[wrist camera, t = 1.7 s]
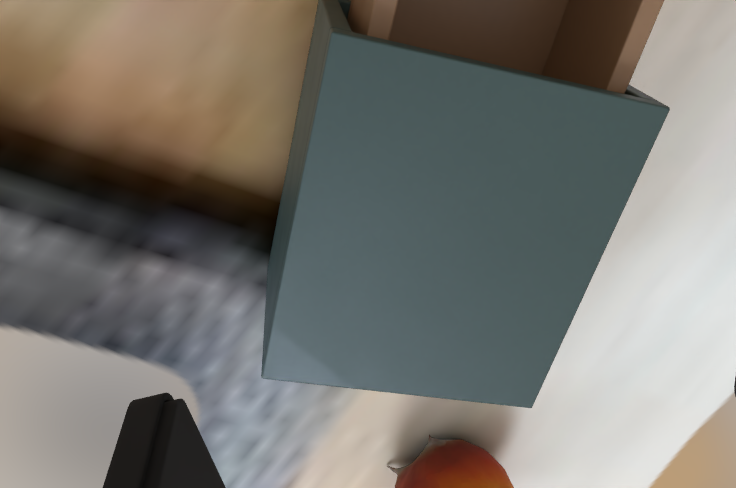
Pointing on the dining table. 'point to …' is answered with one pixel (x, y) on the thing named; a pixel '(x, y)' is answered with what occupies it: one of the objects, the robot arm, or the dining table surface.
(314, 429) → the dining table surface
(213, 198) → the dining table surface
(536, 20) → the drawer
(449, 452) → the fruit
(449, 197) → the cabinet
